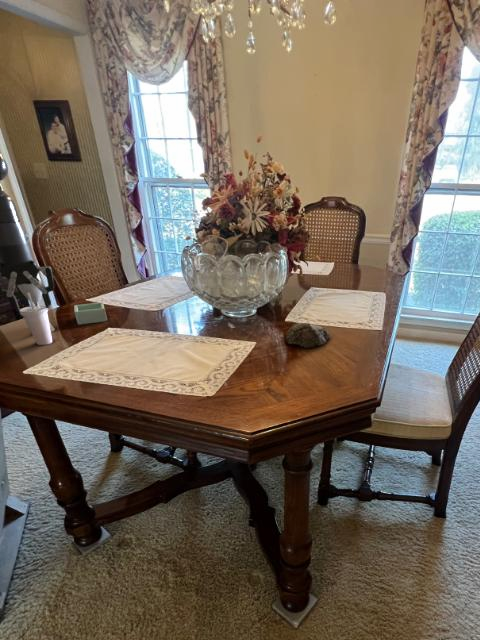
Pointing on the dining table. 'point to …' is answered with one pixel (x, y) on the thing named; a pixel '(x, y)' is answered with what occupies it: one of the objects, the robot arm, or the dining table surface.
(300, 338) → the dark rough stone
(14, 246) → the robot arm
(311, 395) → the dining table surface
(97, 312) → the holder
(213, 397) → the dining table surface
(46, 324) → the smoothie
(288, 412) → the dining table surface
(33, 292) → the chalice
